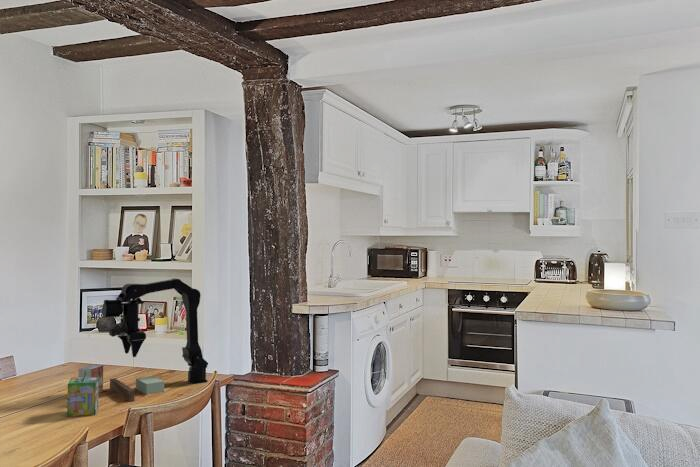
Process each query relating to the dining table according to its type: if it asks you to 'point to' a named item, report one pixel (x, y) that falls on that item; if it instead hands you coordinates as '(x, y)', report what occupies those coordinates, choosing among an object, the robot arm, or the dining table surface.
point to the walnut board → (122, 390)
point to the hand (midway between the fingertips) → (130, 355)
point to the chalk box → (83, 396)
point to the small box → (93, 373)
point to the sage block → (150, 385)
